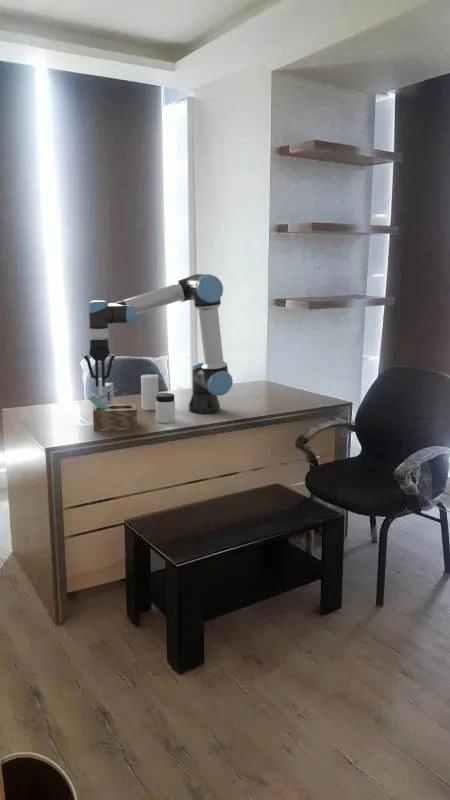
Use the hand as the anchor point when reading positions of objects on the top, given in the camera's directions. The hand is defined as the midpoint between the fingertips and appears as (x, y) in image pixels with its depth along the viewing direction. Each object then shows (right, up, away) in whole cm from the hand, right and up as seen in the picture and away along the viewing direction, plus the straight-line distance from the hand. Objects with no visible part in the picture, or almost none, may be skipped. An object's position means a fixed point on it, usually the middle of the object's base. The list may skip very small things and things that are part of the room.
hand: (100, 394), depth 260 cm
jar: (+26, -12, +15) cm, 32 cm away
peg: (+7, -12, +4) cm, 14 cm away
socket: (+5, -14, +4) cm, 16 cm away
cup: (+16, -7, +39) cm, 43 cm away
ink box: (-5, -7, +39) cm, 39 cm away
